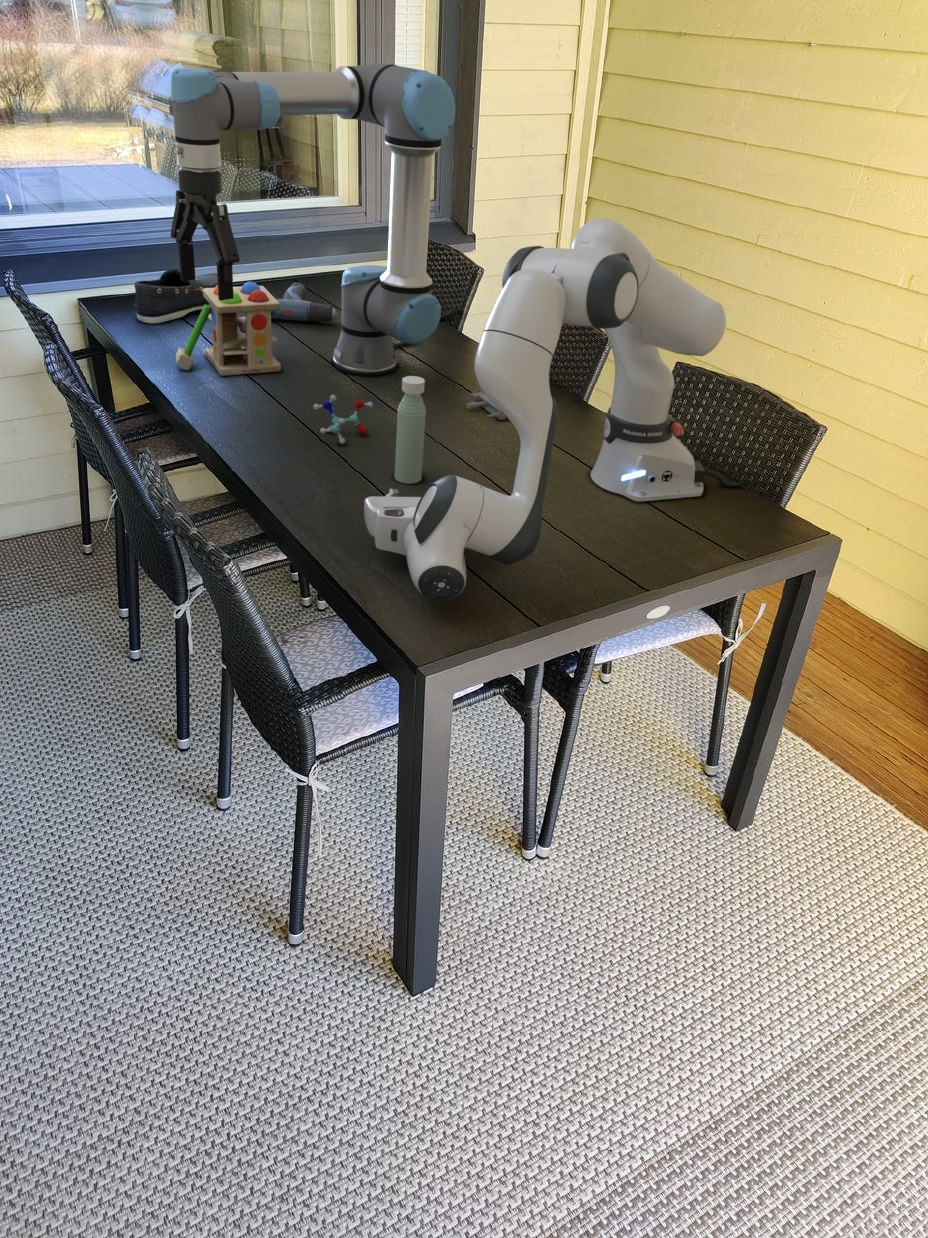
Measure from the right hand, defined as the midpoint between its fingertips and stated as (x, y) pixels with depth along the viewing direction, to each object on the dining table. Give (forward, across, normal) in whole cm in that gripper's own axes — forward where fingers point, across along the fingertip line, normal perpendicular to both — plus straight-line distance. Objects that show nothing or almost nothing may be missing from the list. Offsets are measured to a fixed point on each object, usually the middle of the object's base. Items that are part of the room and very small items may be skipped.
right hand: (420, 492), depth 169 cm
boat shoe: (+120, +51, +7) cm, 130 cm away
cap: (+20, 0, -12) cm, 24 cm away
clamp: (+52, -22, +7) cm, 57 cm away
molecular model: (+39, +12, +7) cm, 42 cm away
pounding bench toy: (+78, +38, +7) cm, 87 cm away
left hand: (+42, +38, -21) cm, 60 cm away
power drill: (+119, +18, +7) cm, 121 cm away
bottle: (+20, 0, +7) cm, 21 cm away
